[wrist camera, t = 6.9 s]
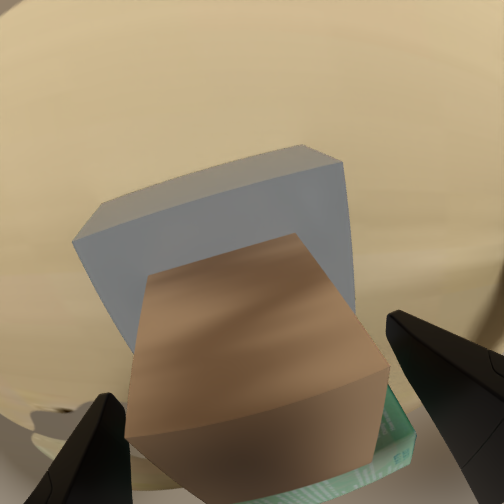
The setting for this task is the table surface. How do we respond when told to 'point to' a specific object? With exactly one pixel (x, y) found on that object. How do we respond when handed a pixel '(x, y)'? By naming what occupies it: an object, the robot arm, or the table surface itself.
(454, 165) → the table surface
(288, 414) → the block
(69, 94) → the table surface
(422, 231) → the table surface
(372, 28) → the table surface
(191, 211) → the base
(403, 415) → the box
